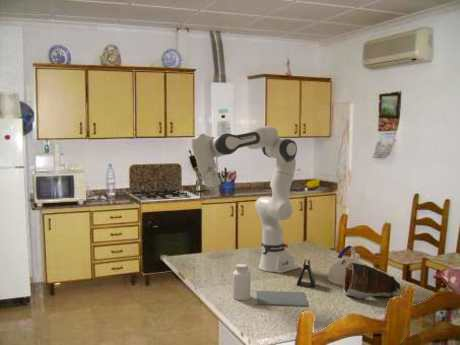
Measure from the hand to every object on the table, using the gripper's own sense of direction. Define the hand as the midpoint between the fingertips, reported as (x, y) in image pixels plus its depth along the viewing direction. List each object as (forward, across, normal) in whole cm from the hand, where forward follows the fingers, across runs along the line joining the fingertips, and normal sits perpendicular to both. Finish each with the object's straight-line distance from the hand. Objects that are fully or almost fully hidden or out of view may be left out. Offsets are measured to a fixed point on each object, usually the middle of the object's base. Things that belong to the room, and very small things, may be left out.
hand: (215, 194), depth 224 cm
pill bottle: (+47, -16, +6) cm, 50 cm away
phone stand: (+56, -6, -29) cm, 63 cm away
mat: (+52, -22, -10) cm, 57 cm away
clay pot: (+66, -26, -52) cm, 87 cm away
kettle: (+63, -3, -52) cm, 82 cm away
